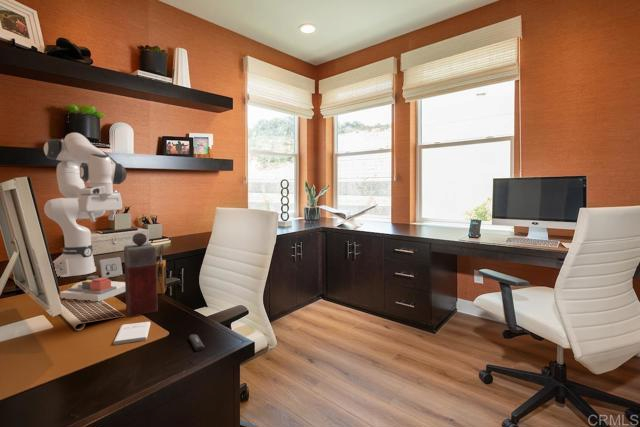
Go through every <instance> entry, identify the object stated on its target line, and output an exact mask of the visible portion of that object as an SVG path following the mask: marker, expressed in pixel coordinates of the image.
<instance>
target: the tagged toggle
mask: <svg viewBox="0 0 640 427" xmlns="http://www.w3.org/2000/svg"><path fill="white" fill-rule="evenodd" d="M90 282H92V280H87V281H86V280H84V281H82V282H81V285H82V289H90Z"/></svg>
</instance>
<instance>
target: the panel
mask: <svg viewBox="0 0 640 427" xmlns="http://www.w3.org/2000/svg"><path fill="white" fill-rule="evenodd" d="M123 293H126V290H125V281H114V280H113V281H112V280H111V288H109V289H106V290H103V291H91V290H90V289H82V284H78V285H77V286H75V287H67V289H65V290H63V291H60V292H59V296H60V297H61V298H60V297H59V298H60V299H63V298H65V299H64V300H73V299H77V300H76V301H84V300H90V301H89V302H95V301H99V302H101V301H100V300H102V301H104V300H106V299H109V298H112V297H114V296H118V295H120V294H123Z"/></svg>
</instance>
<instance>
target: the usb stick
mask: <svg viewBox="0 0 640 427" xmlns="http://www.w3.org/2000/svg"><path fill="white" fill-rule="evenodd" d="M188 340H189V342H190V343H191V345H192V347H193V348H194V350H195V352H199V351H203V350H206V349H205V348H206V346H205V345H204V344H203V342H202V340H201V338H200V336H199V335H198V334H190V335H189V336H188Z"/></svg>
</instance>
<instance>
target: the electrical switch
mask: <svg viewBox="0 0 640 427" xmlns="http://www.w3.org/2000/svg"><path fill="white" fill-rule="evenodd" d="M121 260H122V258H121V257H118V256H117V257H112V258H104V259H99V261H98V264H99V269H100V278H108V279H109V278H114V277H120V275H121V276H123V266H122V261H121Z"/></svg>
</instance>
